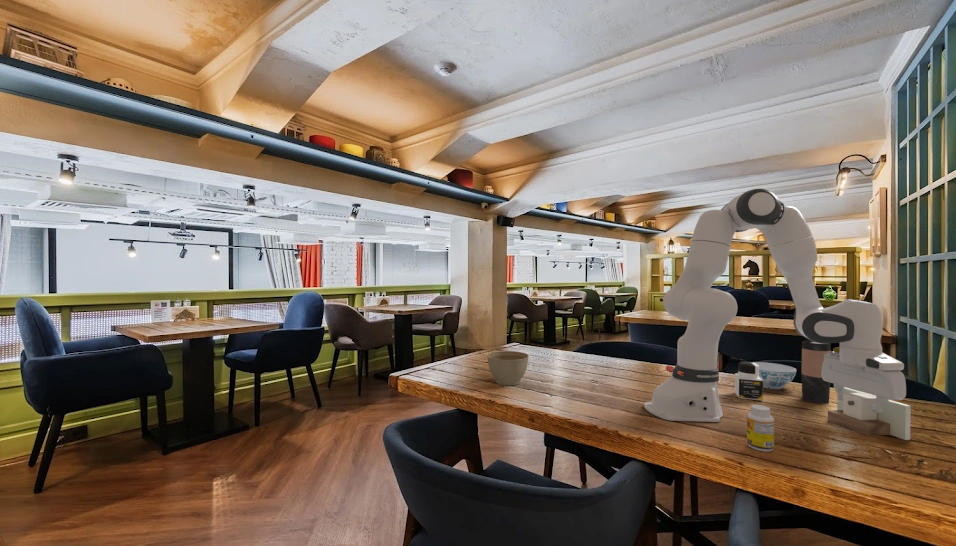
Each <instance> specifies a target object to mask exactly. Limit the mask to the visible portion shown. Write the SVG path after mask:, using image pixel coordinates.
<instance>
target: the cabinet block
mask: <svg viewBox="0 0 956 546" xmlns="http://www.w3.org/2000/svg"><path fill="white" fill-rule="evenodd" d="M876 403H877V399H876V398H875V397H872V396H868V395H865V394H861V393H843V414H845V415H847V416H850V417H853V418H856V419H859V420H877V412H875V411H873V410H872V404H875V405H876Z"/></svg>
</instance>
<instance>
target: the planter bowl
mask: <svg viewBox="0 0 956 546" xmlns="http://www.w3.org/2000/svg"><path fill="white" fill-rule="evenodd" d="M486 356H487V364H488V368H489V371H490V374H491V375H492V376H493V378H494V379H495V383H496V384H498V385H500V386H508V387H509V386H517V385H519V384H520V383H521V380H522V379H523V377H524V375H525V374H526V371H527V368H528V365H529V364H528V363H529V357H530V356H529V354H528V353H525V352H522V351H514V350H513V351H512V350H502V351H493V352H490V353H488V354H487V355H486Z"/></svg>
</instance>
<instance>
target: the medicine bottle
mask: <svg viewBox="0 0 956 546" xmlns="http://www.w3.org/2000/svg"><path fill="white" fill-rule="evenodd" d="M737 369H738V370H737V373H734V394H735V395H736V396H737V397H738V399H744V400H754V401H763V400H764V387H763V380H762V379H761V378H760V377H759V365H758V364H756V363H753V362H751V361H739V362H738V368H737Z"/></svg>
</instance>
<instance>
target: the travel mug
mask: <svg viewBox="0 0 956 546" xmlns="http://www.w3.org/2000/svg"><path fill="white" fill-rule="evenodd" d="M829 351H831V343H826V344H822V343H816V342H813V341H811V340H810V339H806V340H802V341H801V398H802V400H804V401H807V402H811V403H815V404H829V403H830V395H831V394H830V393H831V383H830V382H827V381H824V380H823V379H822V377H821V372H822V365H823V361H824V355H825V354H826V353H827V352H829Z"/></svg>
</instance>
